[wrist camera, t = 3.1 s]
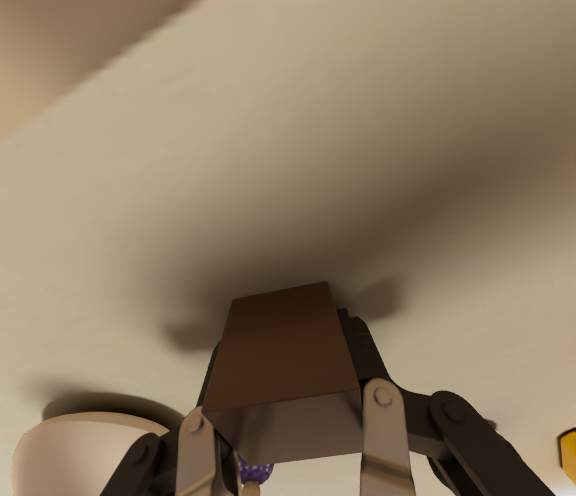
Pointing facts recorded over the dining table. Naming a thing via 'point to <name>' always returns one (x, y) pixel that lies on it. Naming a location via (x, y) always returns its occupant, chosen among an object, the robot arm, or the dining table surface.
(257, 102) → the dining table surface
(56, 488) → the daisy in white vase
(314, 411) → the walnut block
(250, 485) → the toy lamp
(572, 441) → the element tile
